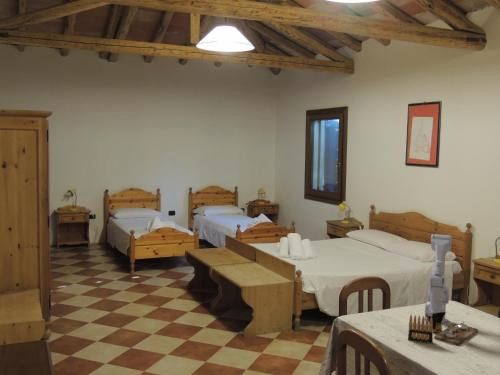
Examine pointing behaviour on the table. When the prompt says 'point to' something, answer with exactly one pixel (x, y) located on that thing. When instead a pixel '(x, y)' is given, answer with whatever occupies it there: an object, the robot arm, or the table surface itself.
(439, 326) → the wooden gear
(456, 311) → the table surface
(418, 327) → the ammunition clip
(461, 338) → the gear board
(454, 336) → the mounted gears
